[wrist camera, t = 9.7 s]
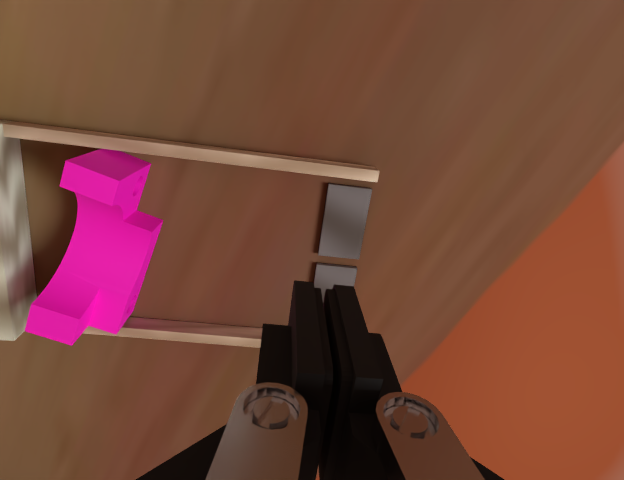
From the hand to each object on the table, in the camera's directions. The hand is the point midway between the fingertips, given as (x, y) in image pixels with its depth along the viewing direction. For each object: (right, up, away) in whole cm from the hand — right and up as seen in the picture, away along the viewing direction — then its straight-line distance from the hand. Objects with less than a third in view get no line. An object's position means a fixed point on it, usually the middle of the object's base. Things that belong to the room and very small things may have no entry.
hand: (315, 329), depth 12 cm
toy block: (-18, +3, +27) cm, 33 cm away
